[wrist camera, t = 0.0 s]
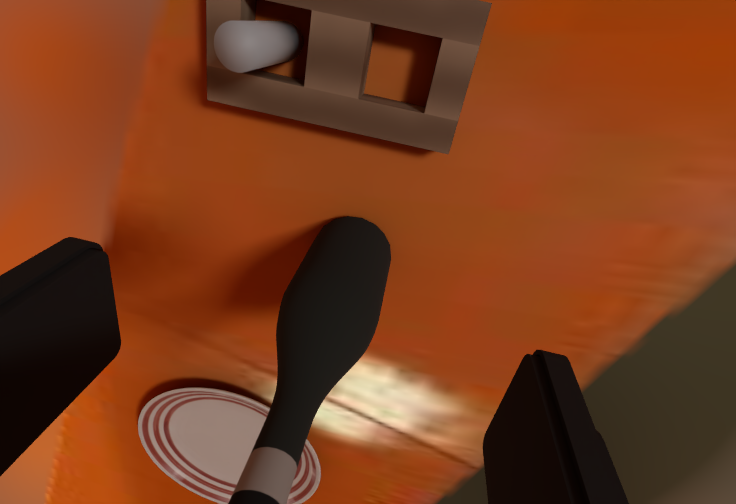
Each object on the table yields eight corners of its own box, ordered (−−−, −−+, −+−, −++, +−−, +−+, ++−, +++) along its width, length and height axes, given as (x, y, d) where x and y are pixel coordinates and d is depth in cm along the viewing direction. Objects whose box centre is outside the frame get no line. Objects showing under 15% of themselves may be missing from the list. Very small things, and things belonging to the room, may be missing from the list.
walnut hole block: (224, -51, 33) (205, -57, 30) (487, 4, 32) (491, 3, 29) (222, 94, 38) (207, 99, 36) (447, 145, 38) (448, 154, 35)
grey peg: (270, 17, 35) (213, 15, 26) (305, 25, 35) (260, 25, 26) (267, 56, 36) (213, 67, 28) (301, 63, 36) (257, 77, 27)
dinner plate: (290, 515, 71) (283, 536, 68) (137, 451, 69) (124, 470, 66) (355, 423, 57) (350, 444, 55) (167, 340, 55) (152, 358, 52)
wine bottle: (364, 292, 47) (269, 635, 21) (304, 253, 45) (121, 566, 19) (407, 241, 43) (358, 583, 17) (343, 197, 41) (181, 492, 15)
